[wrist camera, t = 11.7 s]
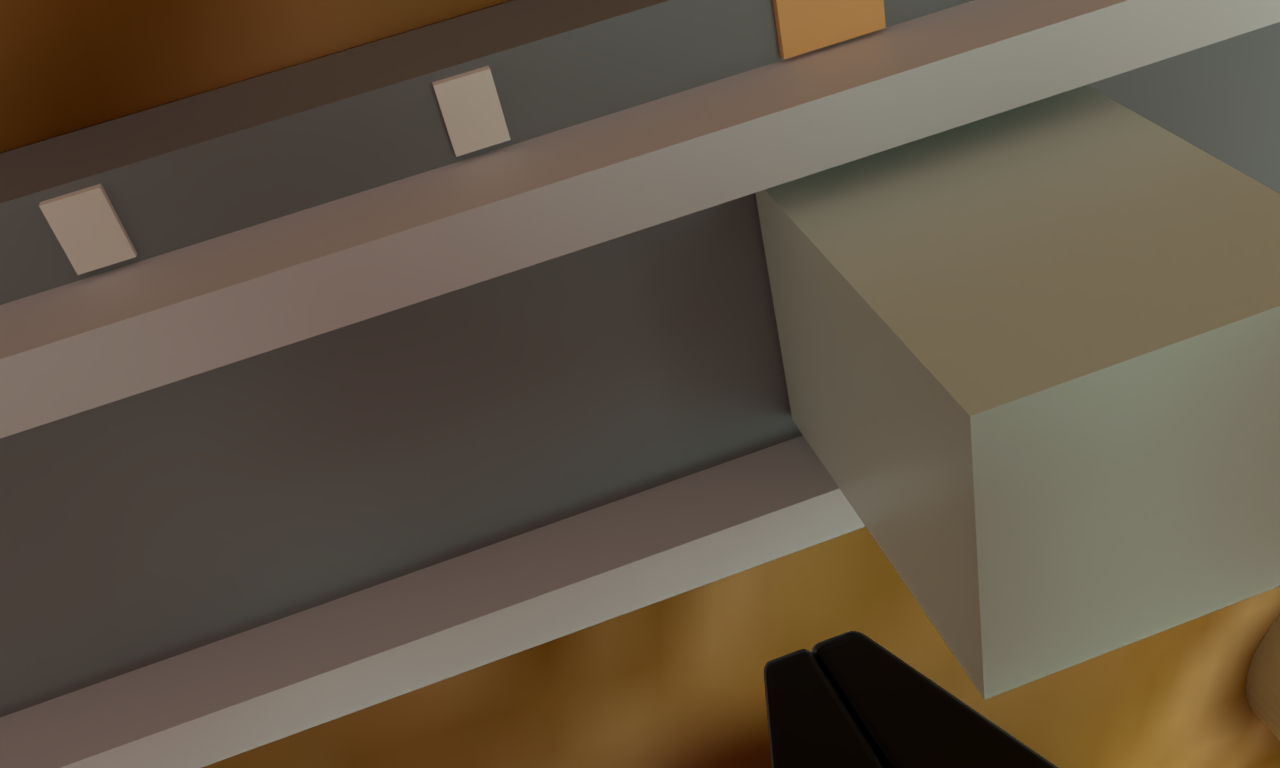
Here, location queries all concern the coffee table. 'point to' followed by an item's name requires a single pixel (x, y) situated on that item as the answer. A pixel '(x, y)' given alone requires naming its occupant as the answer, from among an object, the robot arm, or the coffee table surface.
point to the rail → (463, 338)
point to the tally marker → (1042, 374)
